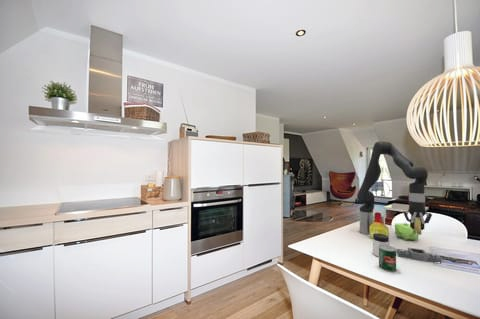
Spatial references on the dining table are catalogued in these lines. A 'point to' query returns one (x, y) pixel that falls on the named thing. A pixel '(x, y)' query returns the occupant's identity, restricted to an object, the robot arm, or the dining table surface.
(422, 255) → the bolt keeper plate
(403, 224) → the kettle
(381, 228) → the bottle
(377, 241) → the jar
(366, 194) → the robot arm
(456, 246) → the dining table surface
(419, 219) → the pin
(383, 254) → the canned tomato
